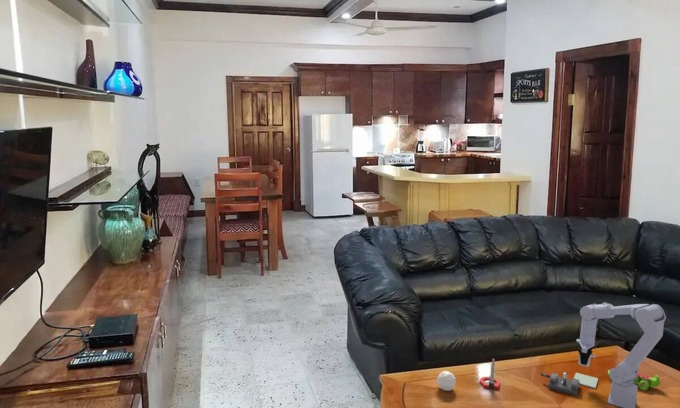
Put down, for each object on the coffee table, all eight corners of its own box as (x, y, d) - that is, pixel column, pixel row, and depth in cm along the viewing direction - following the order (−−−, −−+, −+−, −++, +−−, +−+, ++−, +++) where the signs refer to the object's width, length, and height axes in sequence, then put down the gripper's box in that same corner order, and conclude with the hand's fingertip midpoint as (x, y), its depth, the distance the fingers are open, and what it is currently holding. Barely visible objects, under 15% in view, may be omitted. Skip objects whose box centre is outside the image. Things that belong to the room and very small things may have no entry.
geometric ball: (449, 393, 220) (462, 380, 218) (443, 396, 213) (456, 382, 211) (436, 379, 223) (448, 366, 222) (430, 381, 216) (443, 367, 215)
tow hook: (478, 378, 228) (480, 388, 219) (480, 350, 227) (483, 359, 218) (498, 380, 227) (501, 390, 218) (500, 352, 225) (504, 361, 216)
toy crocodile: (606, 381, 228) (608, 368, 227) (607, 374, 234) (608, 362, 233) (659, 394, 219) (661, 380, 218) (658, 386, 224) (660, 373, 223)
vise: (579, 386, 223) (581, 372, 221) (576, 396, 215) (577, 381, 214) (542, 376, 230) (543, 362, 229) (538, 385, 223) (539, 371, 222)
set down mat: (598, 379, 229) (598, 378, 229) (595, 388, 221) (595, 387, 221) (575, 373, 233) (575, 372, 233) (572, 382, 226) (572, 381, 226)
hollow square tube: (595, 364, 224) (596, 353, 223) (593, 368, 221) (595, 357, 220) (579, 360, 228) (580, 349, 227) (578, 364, 224) (579, 353, 223)
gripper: (580, 324, 230) (576, 352, 233) (575, 336, 218) (571, 366, 220) (597, 328, 226) (594, 357, 229) (593, 340, 214) (590, 370, 217)
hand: (584, 361), depth 225 cm, fingers closed on hollow square tube, 4 cm apart
